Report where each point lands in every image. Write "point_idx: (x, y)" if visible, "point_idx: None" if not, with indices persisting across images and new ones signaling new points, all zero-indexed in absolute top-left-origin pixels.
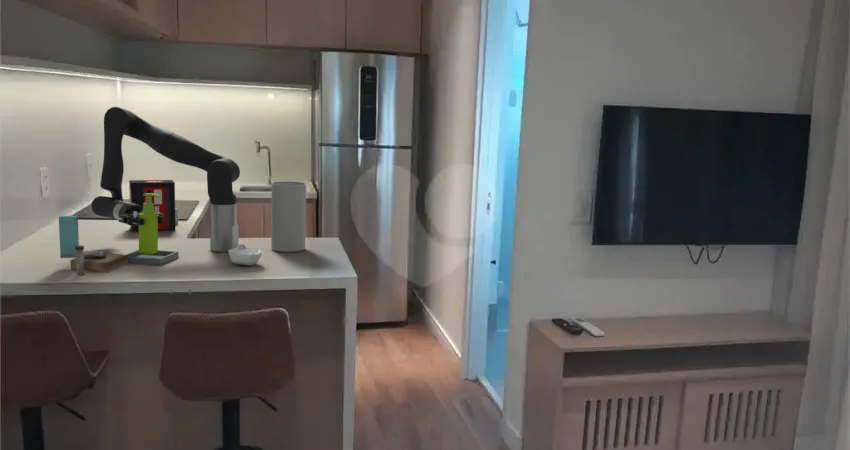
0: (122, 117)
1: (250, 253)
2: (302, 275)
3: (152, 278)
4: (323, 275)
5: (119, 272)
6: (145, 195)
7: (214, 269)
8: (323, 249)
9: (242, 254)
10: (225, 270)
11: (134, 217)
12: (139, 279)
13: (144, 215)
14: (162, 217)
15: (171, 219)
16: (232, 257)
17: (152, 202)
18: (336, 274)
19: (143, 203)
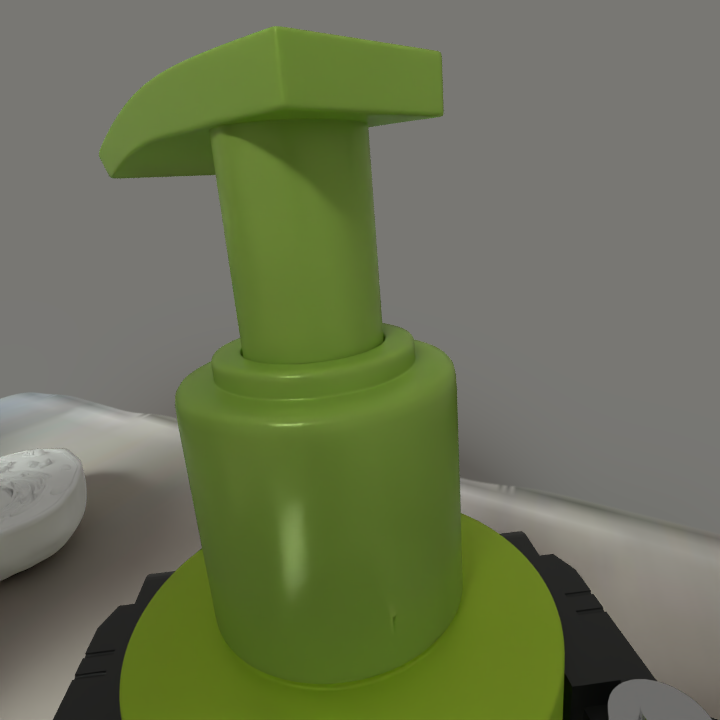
0: None
1: (43, 456)
2: (69, 420)
3: (497, 521)
4: (36, 409)
5: (692, 684)
6: (393, 120)
7: (188, 543)
8: None
9: (78, 458)
10: (169, 517)
11: (675, 700)
12: (556, 527)
13: (465, 518)
14: (154, 575)
15: None
16: (75, 511)
17: (224, 345)
18: (5, 407)
19: (451, 362)
